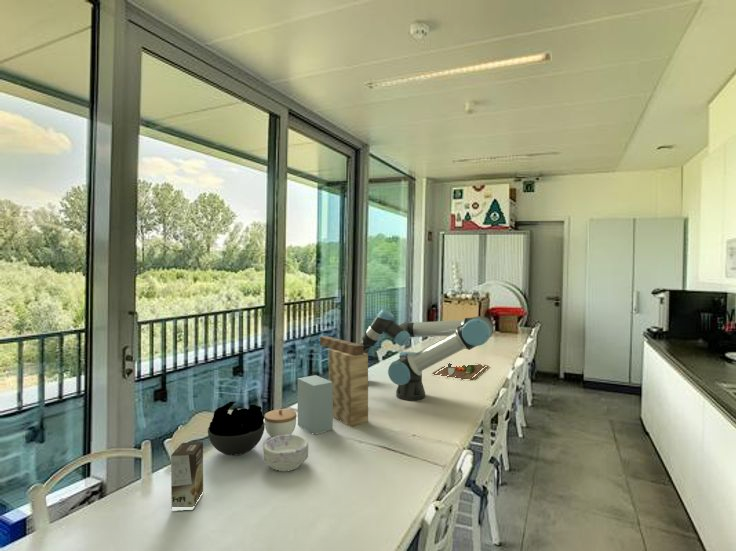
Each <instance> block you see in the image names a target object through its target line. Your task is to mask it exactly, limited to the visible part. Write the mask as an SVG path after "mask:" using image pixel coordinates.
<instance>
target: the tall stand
mask: <svg viewBox="0 0 736 551" xmlns="http://www.w3.org/2000/svg"><path fill="white" fill-rule="evenodd" d="M328 380H329V381H331V382H333V419H336V420H338V421H340V420H341V421H342V423H343V422H344V424H345V423H346V425H347V424H348V425H347V426H349V425H350V426H349V427H351V426H352V427H355V426H358V425H362V423H363V424H366V423H369V353H363V355H358V356H355V355H351V354H348V353H345V352H341V351H338V350H335V349H331V348H330V349H328ZM341 421H340V422H341Z"/></svg>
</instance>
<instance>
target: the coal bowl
mask: <svg viewBox="0 0 736 551" xmlns="http://www.w3.org/2000/svg"><path fill="white" fill-rule="evenodd" d="M236 403H237V401H229V402H227V403H225V404H224V405H222V406H220V407H218V408H216V410H214V412H213V417H212V418H211V422H210V423H209V426H208V428H207V435H208V438H209V441H210V444H211V445H212V446H213V447H214V448H215V450H217V451H218V452H220V453H221V454H222V455H225V456H226V455H227V456H234V457H235V456H240V455H244V454H247V453H248V452H250V451H251V450H253V449H254V448H256V446H257V445H258V444H259V443H260V441H261V439H262V437H263V435H264V433H265V432H264V431H265V429H266V428H265V419H264V415H263V412H262V409H263V408H262V407H261V406H259V405H256V404H250V405H249V408H246V407H245V408H243V407H241V408H239V409H238V408H234V409H233V410H232V411H231V413H229V410H230V409H231V408H232V406H233V405H234V404H236Z"/></svg>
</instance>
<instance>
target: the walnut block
mask: <svg viewBox="0 0 736 551" xmlns="http://www.w3.org/2000/svg"><path fill="white" fill-rule="evenodd" d="M360 344H361V343H356V342H351V341H348V340H345V339H340V338H336V337H332V336H328V335H326V336H325V335H324V336H319V346H321V347H325V348H329V349H330V350H331V349H335V350H338V351H341V352H345V353H348V354H351V355H355V356H358V355H363V345H360Z"/></svg>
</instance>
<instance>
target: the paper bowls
mask: <svg viewBox="0 0 736 551" xmlns="http://www.w3.org/2000/svg"><path fill="white" fill-rule="evenodd" d="M262 447H263V454H262V455H263V458H262V459H263V462H264V463H266V465H268V466H270V467H271V469H273V470H274V469H275V470H274V471H277V470H279V471H278V472H289V471H288V470H291V471H293V469H294V470H296V469H297V468H299V467H300V466H301V465H302V463H303V462H305V461H307V459H308V458H309V441H308V439H307V438H306V437H304V436H303V435H298V434H288V435H280V436H276V437H273V438H272V437H270V438H269V439H267V440H266V441H265V442H264V443H263V446H262Z"/></svg>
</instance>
